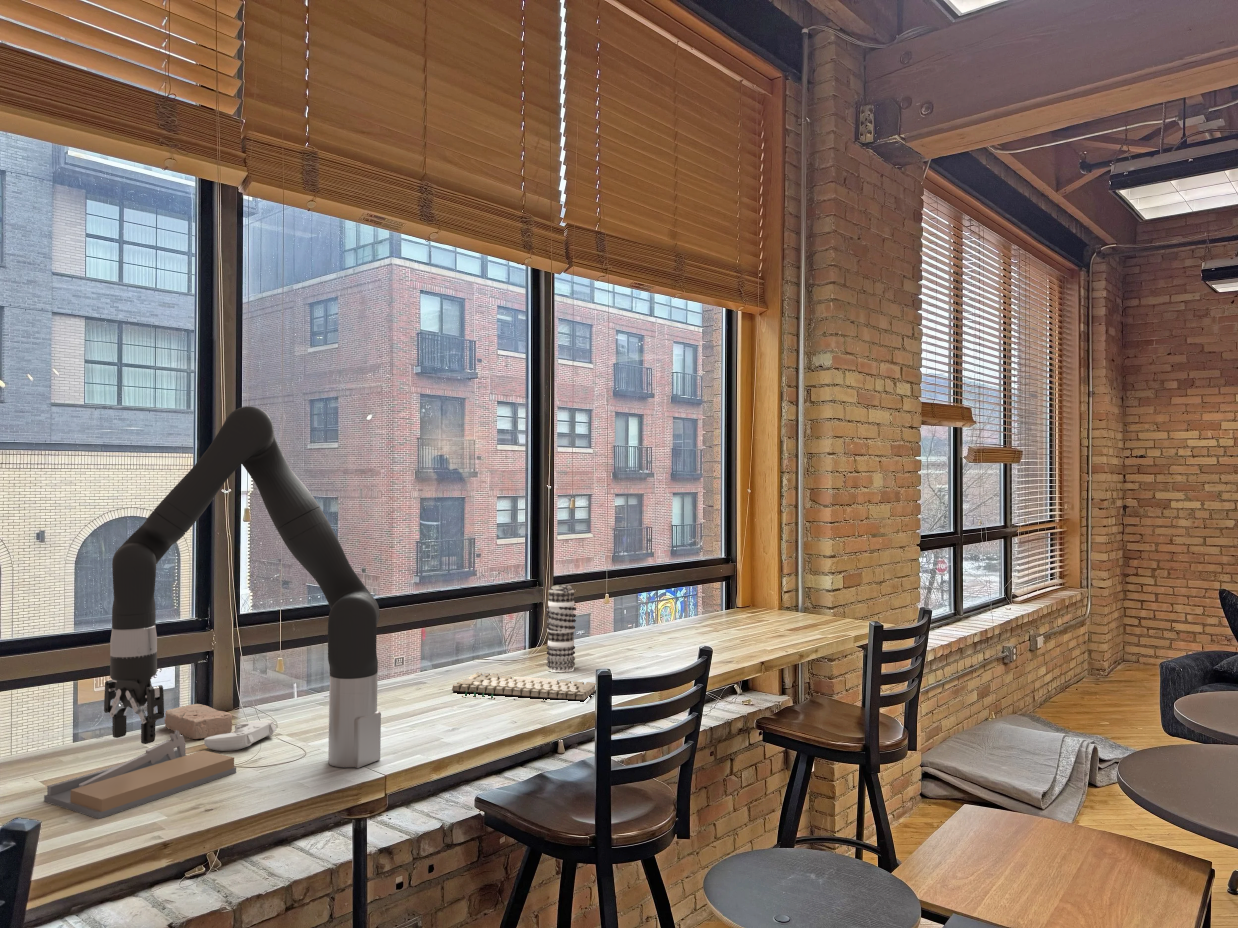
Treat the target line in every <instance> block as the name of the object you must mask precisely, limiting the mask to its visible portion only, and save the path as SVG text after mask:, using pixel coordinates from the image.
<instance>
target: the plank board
mask: <svg viewBox="0 0 1238 928" xmlns="http://www.w3.org/2000/svg"><path fill="white" fill-rule="evenodd" d="M174 752H175V757H176V759H173V760H168V758H167V756H166V755H164V757H163V758H162V759H161V760H159V761H156V762H155V763H153V764H150V763H148V762H146V763H144V764H142V765H140V766H138V767H136V768H134V769H132V770H130V771H128V772H126V773H124V774H121V775H119V776H116V777H113V778H109V779H106V780H102V781H99V782H96V783H92V784H89V785H86V786H82V787H79V784H81V783H83V782H85V781H87V780H89V779H91V778H93V777H95V776H97V775H100V774H102V773H104V772H106V771H108V770H110V769H112V768H114V767H116V766H119V765H120V764H118V765H115V766H111V767H108V768H104V769H101V770H98V771H94V772H92V773H87V774H83V775H80V776H77V777H74V778H73V777H72V778H70V779H67V780H63V781H60V782H55V783H52V784H50V785H47V787H46V788H47V789H46V790H47V793H46V794H44V795H43V801H44V802H45V803H48V804H52V805H54V806H57V807H60V808H64V809H65V810H66V809H67V810H70V811H73V812H76V813H79V814H82V815H85V816H88V817H92V818H94V819H98V820H99V819H103V818H106V817H109V816H112V815H115V814H118V813H121V812H123V811H126V810H129V809H133V808H136V807H138V806H142V805H145V804H147V803H150V802H153V801H156V800H159V799H162V798H165V797H169V796H171V795H173V794H177V793H180V792H183V791H185V790H189V789H191V788H194V787H197V786H202V785H203V784H206V783H210V782H212V781H216V780H218V779H222V778H224V777H228V776H230V775H233V774H236V773H237V767H236V766H235V757H233V756H229V755H226V754H222V753H217V752H213V751H208V750H204V749H203V750H199V751H197V752H192V753H189V754H187V755H186V754H185V756H183V757H179V755H178V751H177V748H175V749H174Z"/></svg>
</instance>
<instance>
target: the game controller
mask: <svg viewBox="0 0 1238 928" xmlns="http://www.w3.org/2000/svg"><path fill="white" fill-rule="evenodd" d="M276 731H277V728H276V726H275V723H274V721H273V720H252V721H244V722H241V723H238V724H235V725H234V731H232V732H230V733H226V734H219V735H215V736H211V737H207V738H203V743H204V745H205V747H206V748H208V749H209V750H213V751H217V752H228V751H229V752H234V751H238V750H241V749H245V748H247V747H250V746H251V745H252V744H254V743H256V742H257V741H259V740H262V739H263V738H267V737H271V736H272V735H274V733H275V732H276Z"/></svg>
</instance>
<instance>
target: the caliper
mask: <svg viewBox="0 0 1238 928" xmlns="http://www.w3.org/2000/svg"><path fill="white" fill-rule="evenodd" d="M169 737H170V739H166V740H164V741H162V742H159V743H158V744H156V745H153V746H152V747H149V748H147V749H145V752H144V753H141V754H140V755H138V756H136V757H133V758H131V759H129V760H127V761H125V762H123V763H121V764H118V765H119V766H118V765H115V766H116V767H115V766H113V767H114V768H112V769H110V770H108V771H106V772H104V773H102V774H100V775H97V776H95V777H93V778H91V779H89V780H87V781H85V782H83V783H81V784H79V787H82V786H86V785H89V784H92V783H96V782H99V781H102V780H106V779H109V778H113V777H116V776H119V775H121V774H124V773H126V772H128V771H130V770H132V769H134V768H136V767H138V766H140V765H142V764H144V763H146V762H148V763H150V764H153V763H155V762H156V761H159V760H161V759H162V758H163V757H164V755H166V756H167V758H168V760H173V759H176V757H175V752H174V749H177V751H178V755H179V757H183V756H185V755H186V748H187V747H186V746H187V745H186V742H185V736H184V735H181V734H180V733H179V731H177V730H176V731H175V732H174V733H172V732H171V733H170V732H169Z"/></svg>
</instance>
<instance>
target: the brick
mask: <svg viewBox="0 0 1238 928" xmlns="http://www.w3.org/2000/svg"><path fill="white" fill-rule="evenodd" d="M164 716H165V718H164V724H165V725H164V728H165V727H167V728H169V729H171V730H170V731H173V732H174V733H175V731H176V730H177V731H179V733H180V735H181V734H182V735H183V737H186V736H187V737H186V738H188V737H189V739H191V740H192V739H194V740H199V739H200V740H202V739H205V738H207V737H211V736H215V735H219V734H227V733H232V732H233V715H232V713H230V712H227V711H223V710H218V709H215V708H212V707H210V705H209V706H208V705H205V704H200V703H195V704H188V705H187V704H186V705H185V706H183V705H182V706H180V707H174V708H171V709H167V710H165V712H164ZM167 728H166V729H167ZM169 729H168V730H169Z"/></svg>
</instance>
